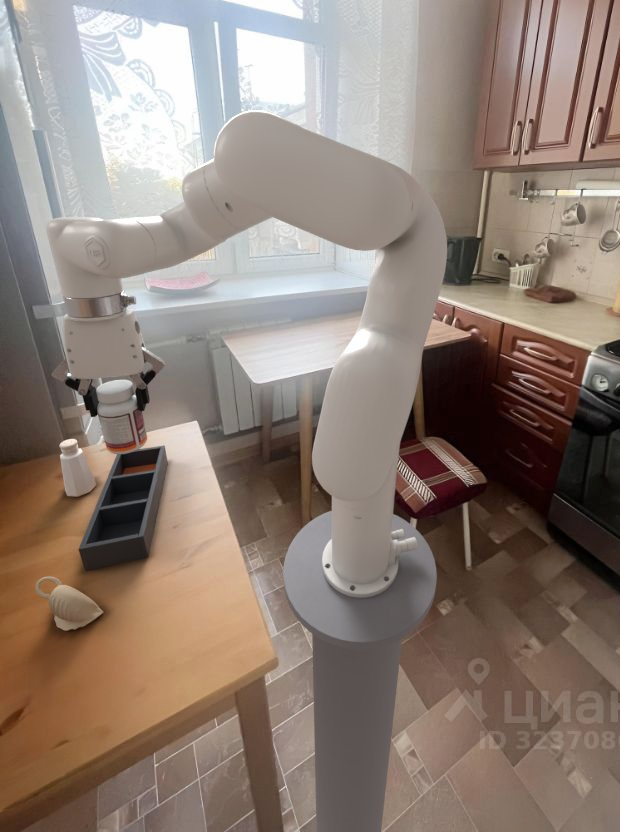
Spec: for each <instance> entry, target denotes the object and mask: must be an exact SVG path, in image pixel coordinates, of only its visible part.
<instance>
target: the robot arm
mask: <svg viewBox="0 0 620 832" xmlns="http://www.w3.org/2000/svg"><path fill="white" fill-rule="evenodd" d="M181 194H182V198H183V199H182V200H183V201H182V202H181V203H179V204H178V205H176V206H174V207H172V208H170V209H168V210H166V211H164V212H162V213H160V214H157V215H154V216H138V217H123V218H112V219H111V218H110V219H102V218H101V217H93V216H92V217H91V216H63V217H55V218H52V219H50V220H49V221H48V222H47V223H46V227H45V229H46V235H47V240H48V243H49V247H50V251H51V255H52V259H53V264H54V267H55V270H56V275H57V279H58V282H59V287H60V291H61V294H62V298H63V302H64V307H65V310H66V313H65V314H64V315H63V317H62V333H63V344H64V345H63V346H64V351H65V358H64V359H63V360H62V361H61V362H60V363H59V365H57V367H56V368H55V369H54V370H53V371H52V372H51V373H50V374H51V377H52V378H54V379H55V380H58V381H59V382H61V383H63V384H65V386H67V387H68V388H70V389H72V390H74V391H75V392H77V394H78V395H79V396H82V400H83V404H84V408H85V411H89V415H90V418H96V417H98V413H97V406H98V404H99V401H98V398H97V393H96V389H97V387H96V386H94V385H93V382H94V380H95V379H105V378H118V377H126V376H129V378H130V379H131V380H132V382H133V384H135V386H136V388H135V389H134V392H135V393H134V394H135V395H136V398H137V403H138V408H139V411H142V412H145V410H146V407H147V404H150V400H151V399H150V391H149V387H148V385H149V384H150V383H151V382H152V381H153V379H155V377H156V376H157V375H158V374H159V373H160V372H161V371H162V369H163V368H165V366H166V361H165V360H164V359H162V358H161V357H160V356H158V355H157V354H155V353H153V352H152V351H150V350H149V349H147V347H146V343H145V340H144V336H143V333H142V329H141V326H140V324H139V321H138V318H137V315H136V313H135V310H134V309H133V308H128V307H129V306H131V305H137V297H136V295H130V294H127V293H126V291H125V290H124V286H123V281H122V279H127V278H131V277H135V276H140V275H144V274H148V273H150V272H157V271H159V270H164V269H169V268H172V267H175V266H178V265H181V264H183V263H185V262H187V261H190V260H191V259H194V258H195V257H197V256H199V255H203V254H204V253H206V252H208V251H210V250H212V249H213V248H215V247H217V246H219V245H220V244H223V243H224V242H226V241H227V240H229V239H230V238H232V237H234V236H236V235H239V234H240V233H242V232H245V231H246V230H248V229H250V228H253V227H255V226H257V225H259V224H261V223H263V222H265V221H268V220H269V219H272V218H274V219H276V220H278V221H280V222H283V223H285V224H288V225H290V226H292V227H295V228H297V229H299V230H302V231H303V232H307V233H309V234H310V235H314V236H316V237H318V238H321V239H323V240H325V241H328V242H330V243H333V244H335V245H336V246H337V245H338V246H340V247H342V248H346V249H350V250H354V251H360V252H368V251H375V250H376V251H375V252H376V253H375V255H376V256H375V262H374V266H373V270H372V273H371V276H370V279H369V283H368V287H367V291H366V298H365V302H364V306H363V309H362V312H361V313H362V314H361V317H360V320H359V323H358V326H357V328H356V332H355V333H354V335H353V337H351V340H350V341H349V343H348V344H347V346H346V347H345V348H344V349H343V351H342V352H341V354H340V355H339V356H338V358H337V360H336V361H335V362H334V365H333V367H332V370H331V372H330V375H329V377H328V380H327V384H326V388H325V391H324V396H323V401H322V404H321V405H322V406H321V410H320V415H319V419H318V423H317V428H316V433H315V437H314V441H313V445H312V446H313V447H312V452H311V464H312V465H311V466H312V470H313V473H314V476H315V478H316V480H317V482H318V483H319V485H320V486H321V488H322V489H323V490H324V491H325V492H326V493H327V494H329V495H330V496H331V511H332V539H331V540H330V541H329V542H328V544H327V545H326V547H325V549H324V552H323V556H322V568H323V573H324V575H325V577H326V579H327V581H328V582H329V584H330V585H331V586H332V587H333V588H334V589H336V590H337V591H339V592H340V593H342V594H345V595H347V596H350V597H356V598H367V597H372V596H375V595H378V594H380V593H382V592H383V591H385V590H386V589H387V588H388V587H389V586H390V585H391V584H392V583H393V581H394V580H395V578H396V575H397V572H398V556H400V555H401V553H402V552H406V551H407V552H409V551H413V550H417V549H418V543H417V540H416V538H415V537H412V538H408V539H404V540H402V541H397V540H394V539H400V538H404V531H403V529H400V530H396V531H393V532H392V520H393V514H394V508H395V495H396V487H397V486H396V484H397V474H398V465H399V463H398V462H399V455H400V448H401V447H400V446H401V441H402V438H403V435H404V432H405V429H406V426H407V423H408V420H409V417H410V414H411V411H412V407H413V404H414V400H415V397H416V393H417V389H418V384H419V379H420V375H421V370H422V369H421V368H422V361H423V352H424V348H425V345H426V341H427V337H428V334H429V331H430V328H431V325H432V321H433V319H434V315H435V311H436V307H437V304H438V301H439V297H440V293H441V289H442V286H443V282H444V279H445V274H446V268H447V259H448V240H447V238H448V237H447V233H446V228H445V223H444V220H443V217H442V214H441V212H440V210H439V207H438V206H437V204H436V202H435V201H434V199H433V198H432V196H431V195H430V193H429V192H428V191H427V190H426V189H425V187H424V186H422V184H421V183H420V182H419V181H418V180H417V179H416V178H414V177H413V176H412V175H411V174H410V173H409V172H407V171H406V170H405V169H403V168H401V167H400V166H398V165H396V164H394V163H392V162H389V161H387V160H385V159H382V158H380V157H378V156H375V155H372V154H371V153H368V152H365V151H362V150H359V149H357V148H354V147H352V146H350V145H347V144H344V143H341V142H339V141H336V140H333V139H332V138H329V137H326V136H324V135H322V134H320V133H317V132H313V131H311V130H309V129H306V128H304V127H302V126H300V125H299V124H297V123H294V122H292V121H290V120H288V119H286V118H284V117H281V116H279V115H277V114H275V113H273V112H268V111H266V110H257V109H256V110H248V111H244V112H241V113H239V114H237V115H235V116H233V117H232V118H230V119H229V120H228V121H227V122H226V123H225V124H224V125H223V127H222V128H221V130H220V131H219V132H218V135H217V137H216V139H215V143H214V149H213V159H211V160H208V161H207V162H205V163H203V164H201V165H200V166H197V167H196V168H194V169H192V170H191V171H189V172H188V173H186V175H185V176H184V178H183V180H182V184H181ZM146 363H149V364H150V365H152V366H151V367H150V368H149V369H148V370H147V371H146V372H145V371H144V369H145V364H146ZM68 370H69V371H68Z"/></svg>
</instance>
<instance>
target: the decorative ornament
mask: <svg viewBox="0 0 620 832" xmlns="http://www.w3.org/2000/svg"><path fill="white" fill-rule="evenodd" d="M47 581H49V582H52V583H54V584H55V585H56V587H55V588H54V589H53V590H52V591H51V593H46V592H44V591H42V589H41V585H42V583H43V582H47ZM35 592H36V594H37V595H38V596H39V597H41V598H43V599H48V607H49V610H50V611H51V612H52V614H53V616H54V618H53V620H54V622H55V624H56V627H57V628H58V629H61V630H62V631H65V632H69V631H71V630H75V631H76V630H77V629H79V628H83V627H86V626H87V625H89V624H91V623H92V622H93V621H95V620H96V619H98V618H99V617H100V616H101V615H102V614H104V611H103V610H102V609H101V607H99V605H98V604H97V603H96V602H95V601H94V600H93V599H92V598H90V597H89V596H88V595H86V594H84V593H83V592H81V591H80V590H78V589H76V588H74V587H72V586H70V585H67V584H63V583H62V581H60V579H58V578H57V577H55V576H49V575H48V576H44V577H41V578H40V579H38V581H37V582H36V583H35Z"/></svg>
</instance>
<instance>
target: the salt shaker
mask: <svg viewBox="0 0 620 832" xmlns="http://www.w3.org/2000/svg"><path fill="white" fill-rule="evenodd" d="M58 446H59V449H60V451H61V454H60V455H59V459H60V465H61V472H62V479H63V485H64V490H65V494H66V496H67V497H76V498H78V497H81V496H84V495H85V494H88V493H90V492H91V491H92V490H93V489H95V488H96V486H97V482H96V479H95V477H94V475H93V473H92V470H91V468H90V466H89V464H88V461H87V458H86V456H85V454H84V452H83V450H82V448H79V445H78V440H77V439H76V438H69V439H66V440H63V441H61V442H60V444H59V445H58Z"/></svg>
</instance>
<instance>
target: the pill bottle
mask: <svg viewBox="0 0 620 832" xmlns="http://www.w3.org/2000/svg"><path fill="white" fill-rule="evenodd" d="M96 393H97V398H98V401H99V404H98V406H97V413H98V415H97V417H98V421H99V425H100V429H101V433H102V436H103V439H104V443H105V447H106V449H107V451H108V452H109V453H111V454H113V455H117V454H126V453H130V452H133V451H136V450H138V449H142V448H143V447H144V446H145V444H146V443H147V441H148V434H147V428H146V424H145V420H144V414H143V411H139V408H138V403H137V398H136V393H135V387H134V382H133V381H131V380H129V379H114V380H109V381H107V382H104V383H102V384H100V385H99V386H97V387H96Z"/></svg>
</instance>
